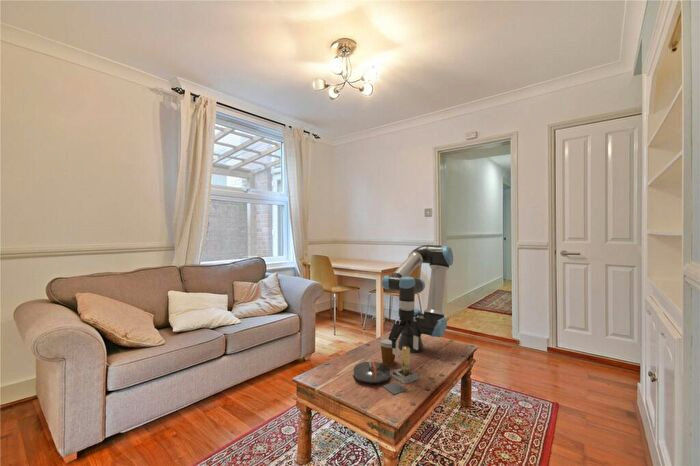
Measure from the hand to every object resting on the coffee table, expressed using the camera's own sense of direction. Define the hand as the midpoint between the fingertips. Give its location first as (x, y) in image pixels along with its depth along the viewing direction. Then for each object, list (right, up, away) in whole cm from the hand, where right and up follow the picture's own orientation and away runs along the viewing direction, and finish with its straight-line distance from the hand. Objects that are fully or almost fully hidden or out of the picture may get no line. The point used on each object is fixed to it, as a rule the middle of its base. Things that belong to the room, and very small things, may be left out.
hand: (405, 351), depth 147 cm
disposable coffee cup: (-6, -13, +17) cm, 22 cm away
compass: (-17, -11, +1) cm, 20 cm away
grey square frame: (0, -13, +1) cm, 13 cm away
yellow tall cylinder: (0, -13, +1) cm, 13 cm away
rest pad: (-7, -13, -10) cm, 17 cm away
